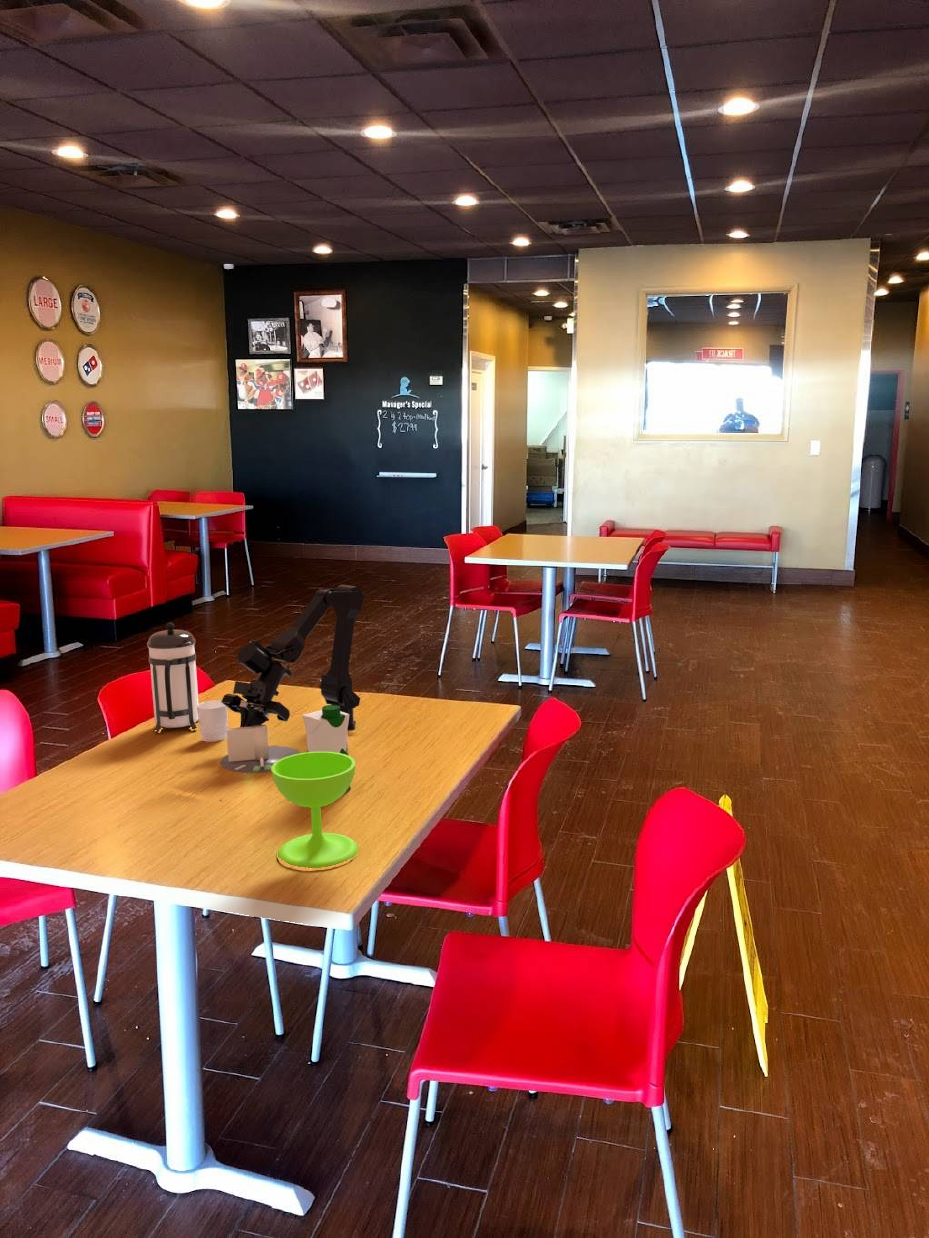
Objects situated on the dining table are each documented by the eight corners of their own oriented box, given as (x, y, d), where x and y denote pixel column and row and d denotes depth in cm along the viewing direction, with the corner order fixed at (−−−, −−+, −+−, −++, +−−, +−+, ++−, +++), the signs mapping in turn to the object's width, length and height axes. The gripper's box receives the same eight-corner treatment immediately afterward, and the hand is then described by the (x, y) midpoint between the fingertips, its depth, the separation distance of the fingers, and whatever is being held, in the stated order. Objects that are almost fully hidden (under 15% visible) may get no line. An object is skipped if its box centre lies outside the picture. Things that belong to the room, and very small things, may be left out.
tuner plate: (318, 756, 242) (318, 752, 242) (264, 781, 226) (264, 777, 225) (259, 744, 252) (259, 740, 252) (203, 767, 236) (202, 763, 235)
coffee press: (136, 729, 267) (127, 624, 261) (185, 716, 279) (178, 615, 273) (171, 741, 256) (162, 631, 250) (221, 727, 268) (214, 622, 262)
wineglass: (262, 849, 188) (257, 762, 185) (335, 829, 197) (331, 746, 194) (298, 879, 176) (293, 786, 172) (374, 856, 185) (370, 767, 181)
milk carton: (325, 799, 214) (321, 713, 210) (301, 789, 220) (297, 705, 216) (356, 789, 220) (353, 705, 216) (332, 779, 226) (328, 697, 222)
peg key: (268, 754, 241) (266, 724, 239) (270, 770, 230) (268, 738, 228) (228, 758, 239) (226, 727, 237) (228, 773, 228) (225, 741, 226)
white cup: (193, 743, 254) (190, 707, 253) (211, 734, 262) (209, 699, 260) (217, 746, 252) (215, 709, 250) (235, 737, 259) (233, 701, 257)
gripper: (222, 663, 243) (194, 717, 237) (277, 671, 234) (250, 728, 227) (247, 684, 252) (221, 737, 245) (301, 692, 242) (276, 748, 235)
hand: (241, 737), depth 238 cm, fingers closed
